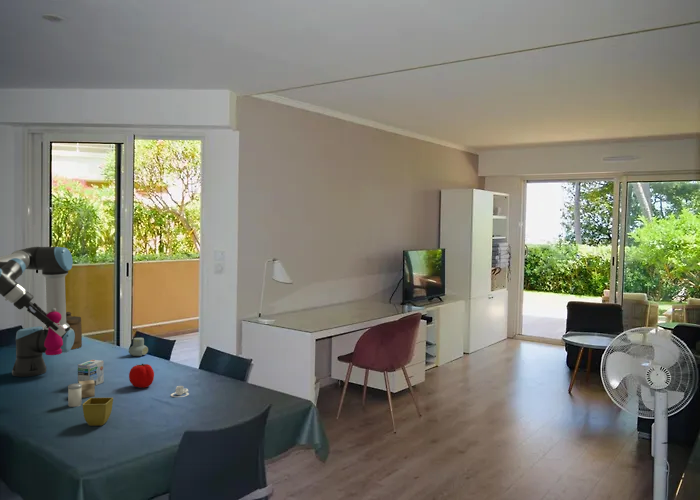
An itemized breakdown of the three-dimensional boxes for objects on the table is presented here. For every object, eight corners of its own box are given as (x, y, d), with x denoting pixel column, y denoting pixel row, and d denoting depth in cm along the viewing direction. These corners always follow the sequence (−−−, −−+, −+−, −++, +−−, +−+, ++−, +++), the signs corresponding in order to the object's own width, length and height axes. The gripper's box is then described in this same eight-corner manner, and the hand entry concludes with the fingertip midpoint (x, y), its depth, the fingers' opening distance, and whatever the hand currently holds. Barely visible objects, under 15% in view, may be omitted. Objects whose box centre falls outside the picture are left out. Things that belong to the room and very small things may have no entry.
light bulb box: (89, 388, 261) (89, 365, 260) (77, 387, 262) (77, 364, 261) (104, 382, 271) (104, 360, 271) (91, 381, 272) (91, 359, 272)
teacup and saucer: (185, 391, 260) (185, 382, 260) (193, 395, 254) (193, 386, 254) (167, 395, 254) (167, 386, 254) (175, 399, 248) (175, 390, 248)
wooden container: (49, 349, 339) (49, 313, 338) (65, 344, 353) (65, 309, 352) (71, 350, 336) (71, 314, 335) (86, 345, 351) (86, 310, 350)
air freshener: (136, 353, 333) (136, 336, 333) (149, 353, 332) (149, 337, 332) (126, 357, 323) (126, 340, 322) (140, 357, 321) (140, 340, 321)
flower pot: (90, 419, 219) (90, 397, 219) (113, 419, 220) (113, 397, 219) (81, 428, 210) (81, 404, 210) (105, 427, 211) (105, 404, 210)
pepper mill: (66, 352, 245) (66, 307, 244) (53, 356, 238) (53, 309, 237) (54, 351, 247) (54, 306, 247) (40, 354, 241) (40, 308, 240)
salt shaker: (72, 402, 239) (72, 383, 239) (84, 403, 239) (84, 383, 239) (65, 406, 234) (65, 386, 233) (77, 407, 234) (77, 387, 233)
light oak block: (79, 398, 246) (79, 384, 246) (78, 394, 251) (78, 381, 251) (94, 396, 249) (94, 383, 248) (93, 392, 254) (93, 379, 254)
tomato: (145, 391, 258) (145, 367, 257) (123, 389, 260) (123, 365, 260) (159, 384, 270) (159, 361, 269) (138, 382, 272) (138, 359, 271)
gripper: (13, 301, 243) (56, 335, 251) (11, 306, 227) (56, 343, 235) (27, 288, 245) (69, 323, 253) (26, 293, 229) (70, 330, 237)
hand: (63, 333), depth 244 cm, fingers closed on pepper mill, 5 cm apart
